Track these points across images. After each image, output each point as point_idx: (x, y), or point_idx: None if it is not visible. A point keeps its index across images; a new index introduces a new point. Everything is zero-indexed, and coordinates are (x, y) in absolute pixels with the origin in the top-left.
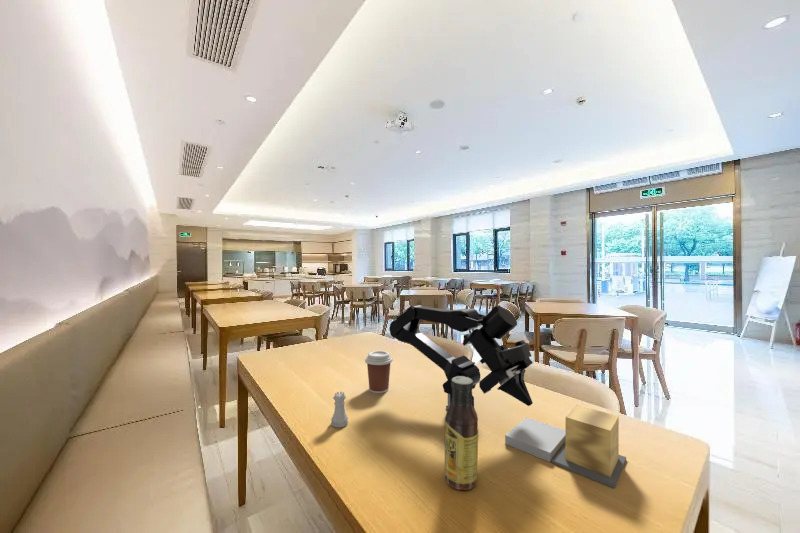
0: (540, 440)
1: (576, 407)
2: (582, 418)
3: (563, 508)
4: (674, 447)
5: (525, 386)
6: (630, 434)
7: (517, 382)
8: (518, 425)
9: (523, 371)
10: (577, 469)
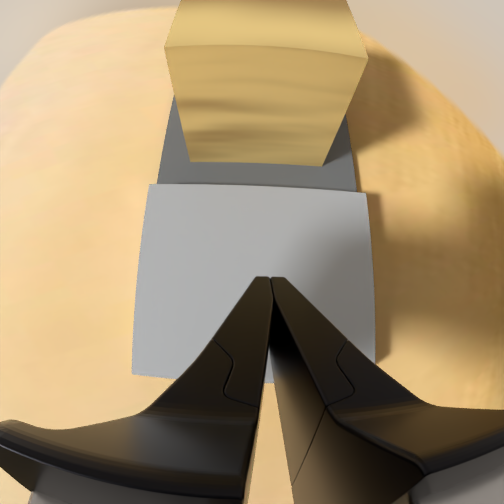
0: (310, 246)
1: (203, 40)
2: (318, 17)
3: (470, 151)
4: (69, 42)
5: (219, 354)
6: (39, 99)
7: (399, 411)
8: None
9: (92, 457)
10: (344, 133)
